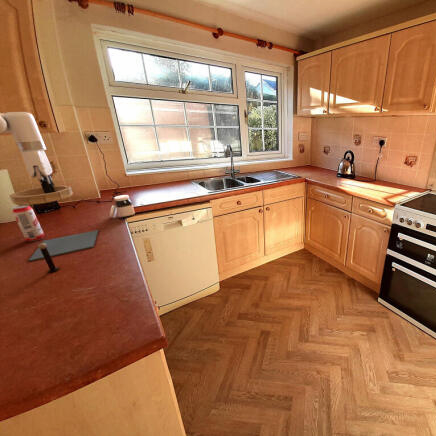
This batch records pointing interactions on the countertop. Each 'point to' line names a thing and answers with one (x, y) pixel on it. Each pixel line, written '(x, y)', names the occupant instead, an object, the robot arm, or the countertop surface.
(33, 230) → the beer can
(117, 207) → the spread jar
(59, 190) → the hoop
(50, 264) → the post stand
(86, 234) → the mat
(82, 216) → the countertop surface
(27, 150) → the robot arm
